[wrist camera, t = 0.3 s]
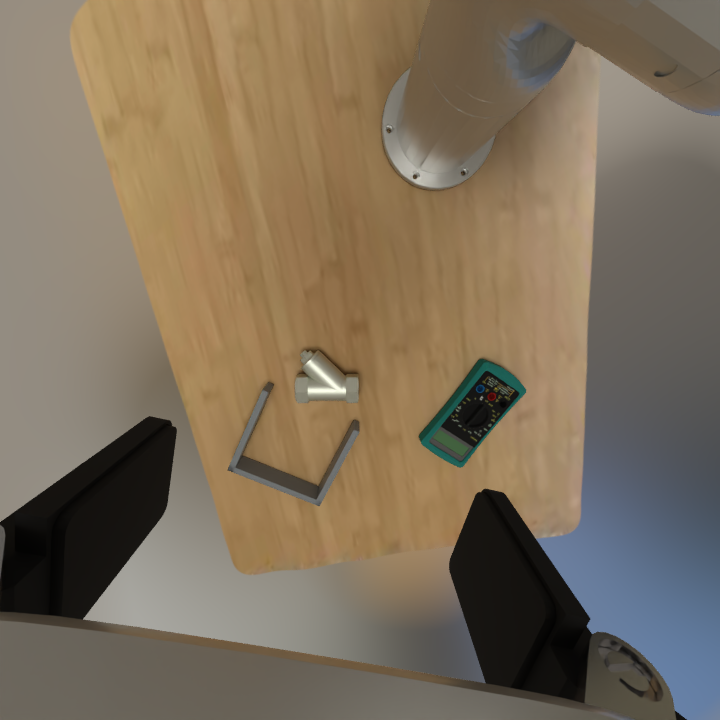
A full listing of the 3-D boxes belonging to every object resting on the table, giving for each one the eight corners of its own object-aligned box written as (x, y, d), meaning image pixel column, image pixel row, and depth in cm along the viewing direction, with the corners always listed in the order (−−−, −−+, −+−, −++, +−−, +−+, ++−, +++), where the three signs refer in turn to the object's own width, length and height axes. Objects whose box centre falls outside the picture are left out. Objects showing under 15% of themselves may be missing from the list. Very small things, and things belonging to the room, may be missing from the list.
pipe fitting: (298, 347, 44) (299, 396, 46) (292, 352, 41) (295, 405, 42) (358, 347, 45) (358, 396, 46) (358, 352, 41) (358, 405, 42)
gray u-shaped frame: (268, 382, 45) (262, 389, 42) (359, 421, 47) (359, 431, 44) (235, 457, 48) (227, 470, 45) (321, 492, 50) (319, 506, 47)
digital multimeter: (522, 381, 46) (533, 389, 43) (455, 460, 49) (461, 472, 46) (481, 353, 45) (489, 358, 42) (415, 436, 48) (419, 446, 45)
